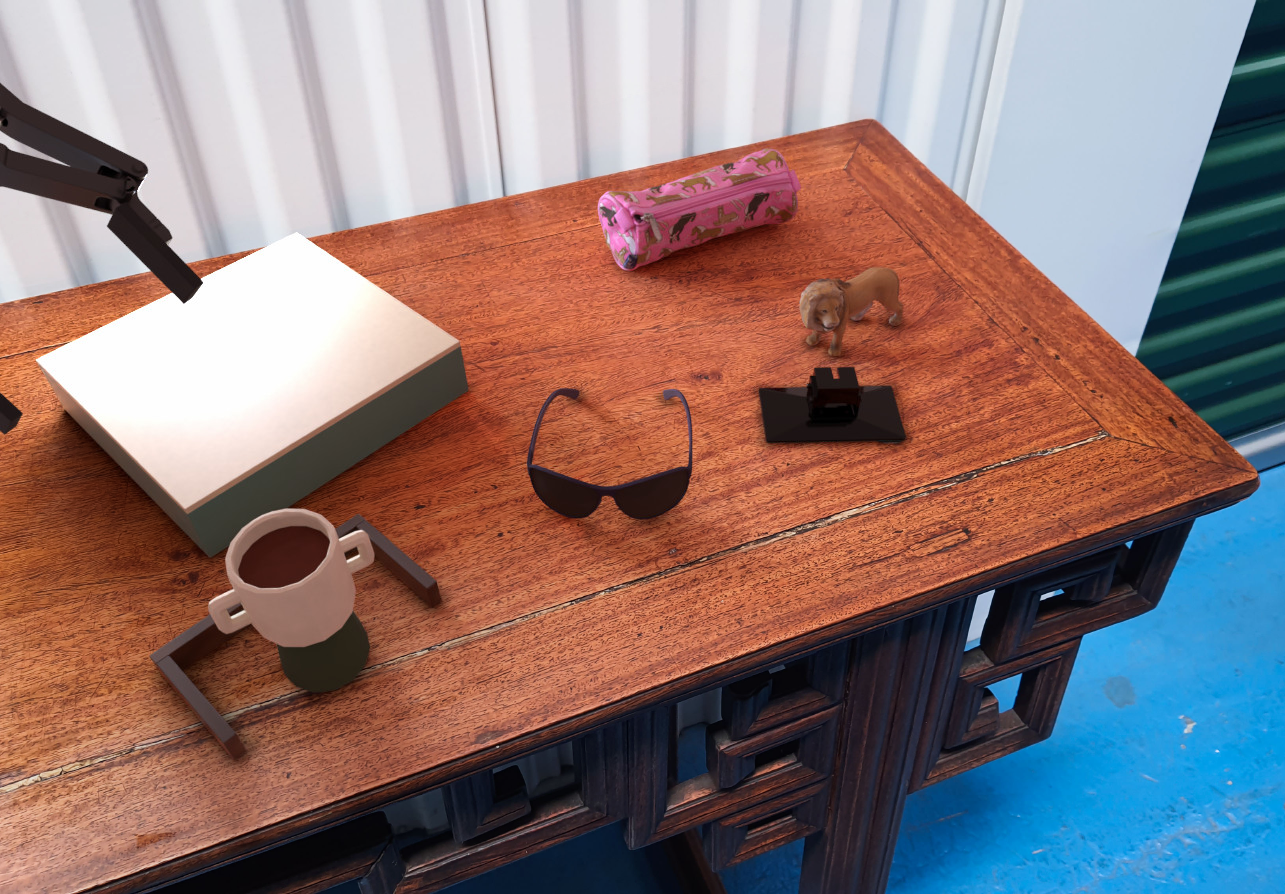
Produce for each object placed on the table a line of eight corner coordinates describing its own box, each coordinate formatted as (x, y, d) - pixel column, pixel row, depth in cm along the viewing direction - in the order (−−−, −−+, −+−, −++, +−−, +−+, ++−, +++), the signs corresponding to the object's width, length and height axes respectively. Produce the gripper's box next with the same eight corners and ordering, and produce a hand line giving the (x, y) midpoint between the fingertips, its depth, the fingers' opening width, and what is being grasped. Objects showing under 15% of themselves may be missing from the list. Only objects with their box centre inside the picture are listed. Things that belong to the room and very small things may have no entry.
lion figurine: (821, 383, 93) (832, 306, 87) (778, 356, 96) (787, 280, 90) (915, 315, 100) (932, 240, 94) (872, 292, 103) (887, 218, 97)
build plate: (890, 389, 93) (899, 350, 90) (906, 444, 88) (916, 406, 85) (758, 390, 93) (762, 352, 89) (766, 445, 88) (771, 407, 84)
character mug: (378, 592, 77) (339, 479, 68) (417, 657, 73) (382, 546, 64) (240, 662, 73) (178, 551, 63) (274, 735, 69) (213, 628, 59)
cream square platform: (210, 558, 80) (184, 509, 75) (63, 408, 92) (34, 359, 88) (469, 390, 93) (460, 340, 89) (311, 280, 106) (296, 232, 102)
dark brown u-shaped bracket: (234, 761, 67) (223, 743, 65) (161, 674, 72) (148, 655, 70) (442, 600, 76) (437, 581, 75) (364, 532, 81) (358, 512, 79)
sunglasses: (526, 523, 82) (520, 483, 78) (544, 394, 93) (540, 353, 89) (692, 526, 81) (693, 485, 78) (690, 395, 92) (691, 354, 89)
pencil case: (630, 291, 104) (628, 218, 97) (593, 246, 110) (589, 175, 103) (803, 238, 110) (811, 166, 104) (759, 198, 116) (765, 128, 110)
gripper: (-3, 18, 65) (238, 270, 70) (-438, 204, 49) (-84, 506, 55) (14, -56, 59) (274, 224, 65) (-470, 128, 44) (-73, 474, 50)
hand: (110, 355), depth 60 cm, fingers open, 13 cm apart
